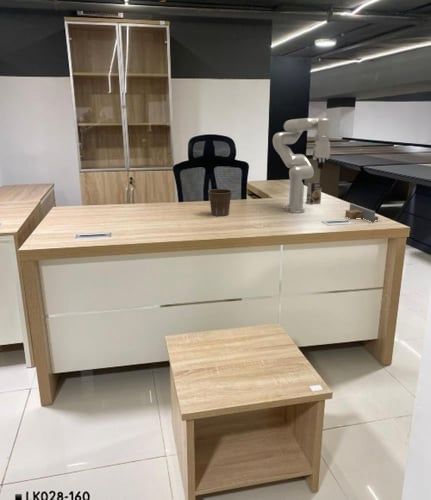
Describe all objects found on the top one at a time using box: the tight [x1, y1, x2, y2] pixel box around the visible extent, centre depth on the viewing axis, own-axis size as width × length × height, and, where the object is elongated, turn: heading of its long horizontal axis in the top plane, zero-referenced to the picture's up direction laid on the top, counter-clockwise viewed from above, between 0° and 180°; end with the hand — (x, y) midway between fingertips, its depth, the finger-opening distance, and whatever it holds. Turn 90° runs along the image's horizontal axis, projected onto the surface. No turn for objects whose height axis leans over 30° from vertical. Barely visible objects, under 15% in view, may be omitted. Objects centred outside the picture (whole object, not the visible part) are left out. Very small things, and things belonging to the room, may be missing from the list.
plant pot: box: [207, 188, 233, 217], centre depth 288 cm, size 16×16×16 cm
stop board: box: [348, 203, 379, 223], centre depth 279 cm, size 6×26×7 cm, turn 15°
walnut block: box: [345, 209, 363, 220], centre depth 279 cm, size 8×7×5 cm
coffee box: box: [305, 181, 323, 205], centre depth 324 cm, size 9×6×16 cm
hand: (320, 168), depth 271 cm, fingers closed
